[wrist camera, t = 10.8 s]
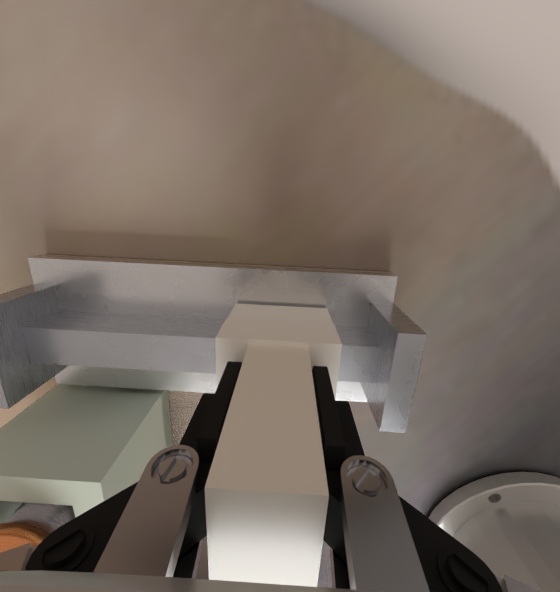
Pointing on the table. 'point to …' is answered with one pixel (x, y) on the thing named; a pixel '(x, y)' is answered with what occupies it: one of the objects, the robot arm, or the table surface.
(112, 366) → the guide rail
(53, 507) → the button
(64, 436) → the hollow cube
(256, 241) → the table surface
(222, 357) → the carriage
